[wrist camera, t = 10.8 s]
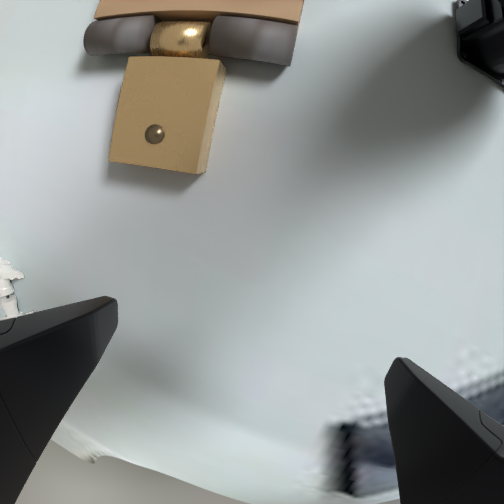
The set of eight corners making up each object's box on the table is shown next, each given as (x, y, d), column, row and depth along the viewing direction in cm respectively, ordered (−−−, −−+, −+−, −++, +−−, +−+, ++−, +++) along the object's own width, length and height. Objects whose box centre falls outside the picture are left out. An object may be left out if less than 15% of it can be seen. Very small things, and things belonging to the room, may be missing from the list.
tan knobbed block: (205, 172, 19) (194, 174, 17) (125, 159, 19) (105, 161, 17) (236, 33, 16) (229, 16, 13) (154, 30, 16) (138, 16, 14)
